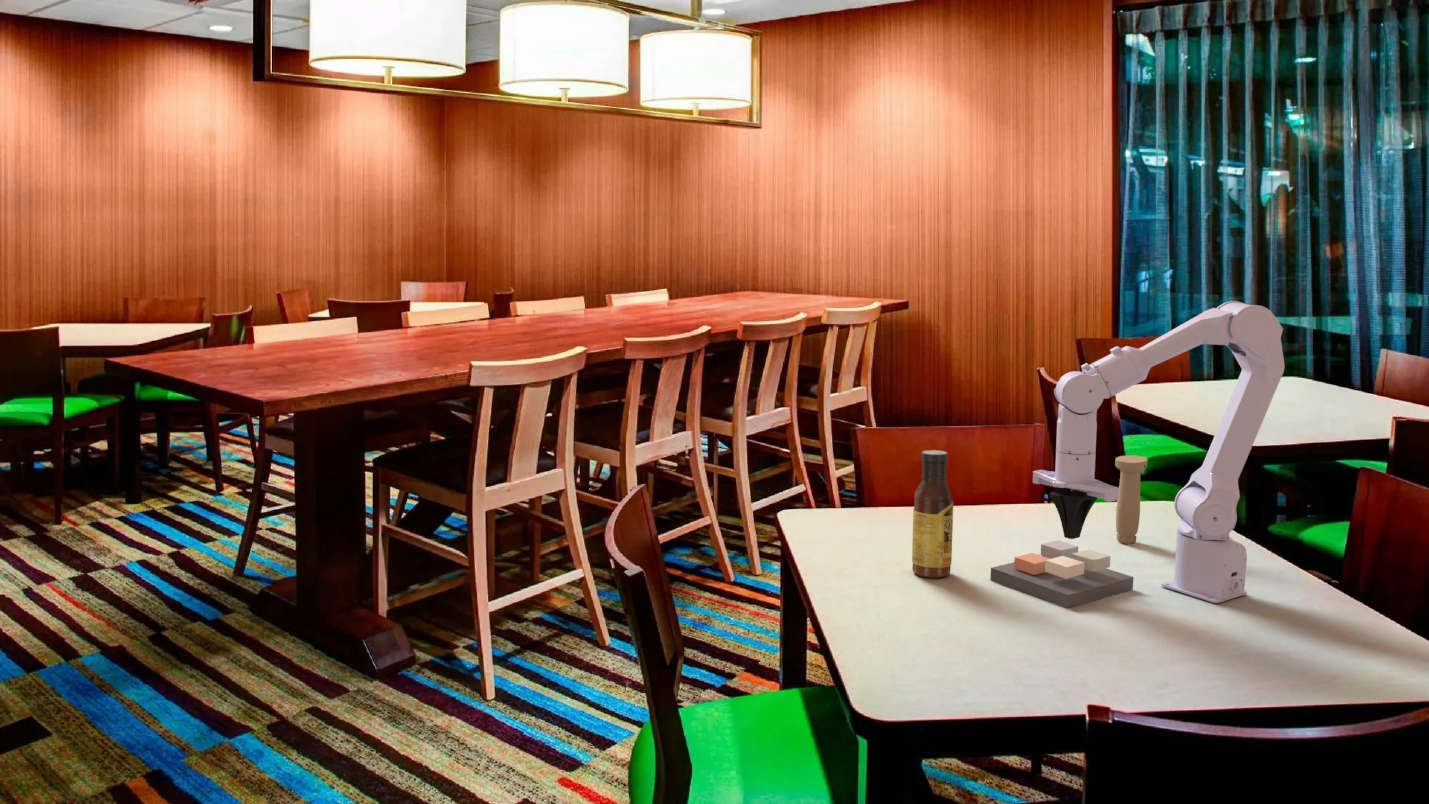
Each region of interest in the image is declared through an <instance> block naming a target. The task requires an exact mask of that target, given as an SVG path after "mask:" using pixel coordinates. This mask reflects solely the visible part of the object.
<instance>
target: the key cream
mask: <svg viewBox="0 0 1429 804" xmlns="http://www.w3.org/2000/svg"><path fill="white" fill-rule="evenodd" d="M1084 564H1085V563H1084V562H1081V561H1078V560H1075V559H1072V558H1068V557H1065V556H1061V557H1056V558H1052V559H1048V560H1045V572H1048V573H1051V574H1053V575H1056V576H1059V577H1062V578H1065V579H1067V578H1071V577H1075V576H1079V575H1083V574H1084Z"/></svg>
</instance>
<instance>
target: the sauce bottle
mask: <svg viewBox="0 0 1429 804" xmlns="http://www.w3.org/2000/svg"><path fill="white" fill-rule="evenodd" d="M948 456H949V455H948V452H947V451H944V450H937V449H931V450H923V451H922V452H921V459H920V460H921V463H922V471H921V472H922V473H921V479H922V480H921V481H920V483H919V485H918V486H916V487H917V488H916V489H915V491H914V496H913V500H914V503H913V504H914V505H913V511H912V547H911V548H912V550H911V552H912V554H911V562H912V572H913V574H915V575H917V576H919V577H923V578H931V579H932V578H933V579H939V578H944V577H947V576H949V575H950V574H951V566H952V557H953V556H952V555H953V529H954V527H953V526H954V525H953V524H954V523H953V521H954V519H953V518H954V499H953V497H952V493H951V490H950V487H949V484H948V481H947V463H948Z"/></svg>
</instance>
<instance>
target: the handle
mask: <svg viewBox="0 0 1429 804" xmlns="http://www.w3.org/2000/svg"><path fill="white" fill-rule="evenodd" d="M1114 464H1115V468H1117V469H1118V470H1119V471H1120V472H1119V474H1120V475H1119V476H1120V478H1119V486H1118V488H1119V494H1118V500H1116V507H1115V508H1116V509H1115V512H1116V513H1115V528H1116V529H1115V531H1116V540H1117V541H1118V543H1120V544H1125V545H1131V544H1132V545H1133V544H1136V541H1137V536H1136V535H1137V534H1138V531H1139V525H1140V517H1141V515H1140V514H1141V474H1142V472H1143V471H1146V469H1147V467H1148V458H1147V457H1144V456H1139V455H1130V454H1128V455H1127V454H1126V455H1120V456H1117V457H1115V463H1114Z"/></svg>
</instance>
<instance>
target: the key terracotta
mask: <svg viewBox="0 0 1429 804" xmlns="http://www.w3.org/2000/svg"><path fill="white" fill-rule="evenodd" d="M1048 559H1049V558H1046V557H1043V556H1042V555H1041V554H1036V553H1034V552H1031V553H1027V554H1021V555H1018V556H1015V557H1014V561H1013V562H1014V568H1015V569H1018V570H1021V571H1024V572H1027V573H1030V574H1033V575H1036V574H1040V573H1044V572H1045V560H1048Z"/></svg>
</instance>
